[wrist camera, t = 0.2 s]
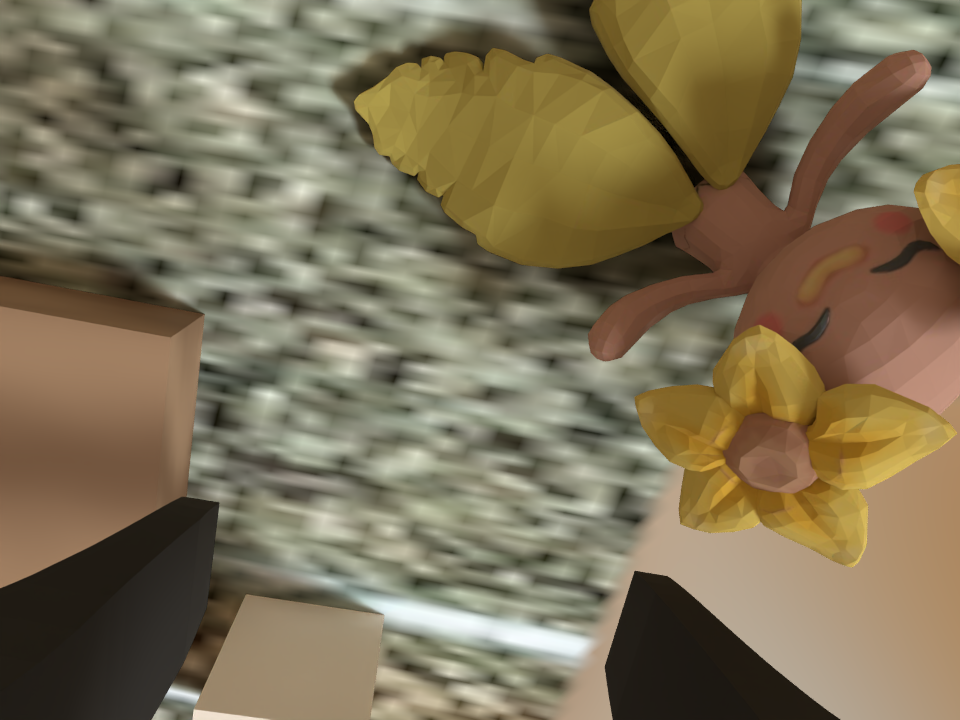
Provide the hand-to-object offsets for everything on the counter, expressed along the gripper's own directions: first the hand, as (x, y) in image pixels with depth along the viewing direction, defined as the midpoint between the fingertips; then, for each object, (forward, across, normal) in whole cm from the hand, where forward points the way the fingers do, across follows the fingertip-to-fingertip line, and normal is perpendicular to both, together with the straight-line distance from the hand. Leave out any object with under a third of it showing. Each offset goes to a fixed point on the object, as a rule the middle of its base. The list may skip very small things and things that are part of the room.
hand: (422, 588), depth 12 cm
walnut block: (+10, +11, +3) cm, 16 cm away
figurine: (+10, -6, -8) cm, 14 cm away
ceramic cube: (+10, +2, +10) cm, 15 cm away
